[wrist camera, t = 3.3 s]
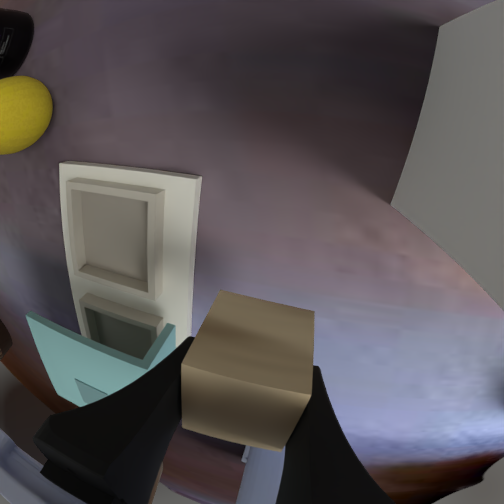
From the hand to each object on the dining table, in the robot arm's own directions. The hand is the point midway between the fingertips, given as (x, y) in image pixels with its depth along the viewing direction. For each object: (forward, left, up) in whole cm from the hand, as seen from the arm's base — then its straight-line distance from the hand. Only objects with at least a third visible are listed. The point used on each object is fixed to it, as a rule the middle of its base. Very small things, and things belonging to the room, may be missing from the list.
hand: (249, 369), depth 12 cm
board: (-4, +11, -8) cm, 14 cm away
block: (0, 0, -2) cm, 2 cm away
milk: (+11, -12, -9) cm, 19 cm away
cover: (-9, +11, -6) cm, 15 cm away
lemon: (+9, +19, -9) cm, 23 cm away
